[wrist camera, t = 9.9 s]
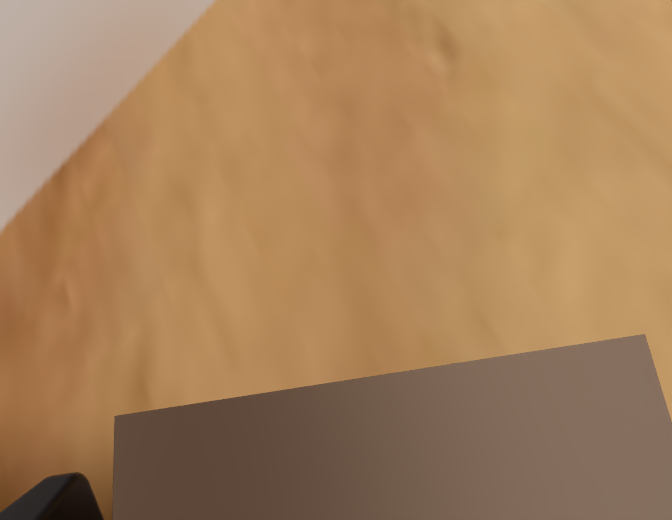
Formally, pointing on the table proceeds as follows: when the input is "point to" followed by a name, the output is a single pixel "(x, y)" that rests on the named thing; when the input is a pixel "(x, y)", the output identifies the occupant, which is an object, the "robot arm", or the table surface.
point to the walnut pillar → (416, 445)
